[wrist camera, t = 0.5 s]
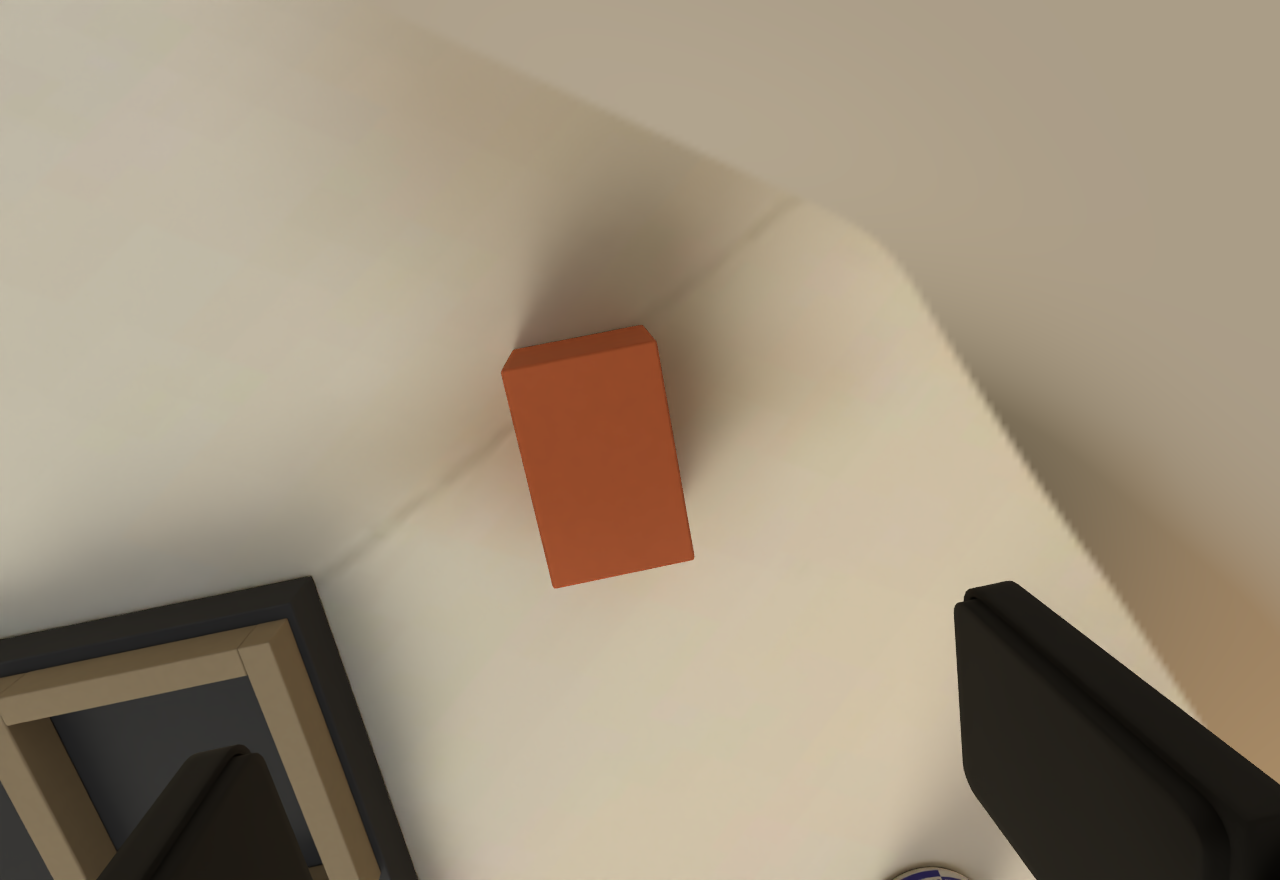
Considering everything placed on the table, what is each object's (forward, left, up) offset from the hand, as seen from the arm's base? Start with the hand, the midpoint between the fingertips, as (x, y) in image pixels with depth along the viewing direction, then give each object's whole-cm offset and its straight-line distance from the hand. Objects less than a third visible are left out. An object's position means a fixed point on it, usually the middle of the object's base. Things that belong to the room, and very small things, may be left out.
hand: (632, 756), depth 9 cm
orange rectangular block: (0, 0, -16) cm, 16 cm away
